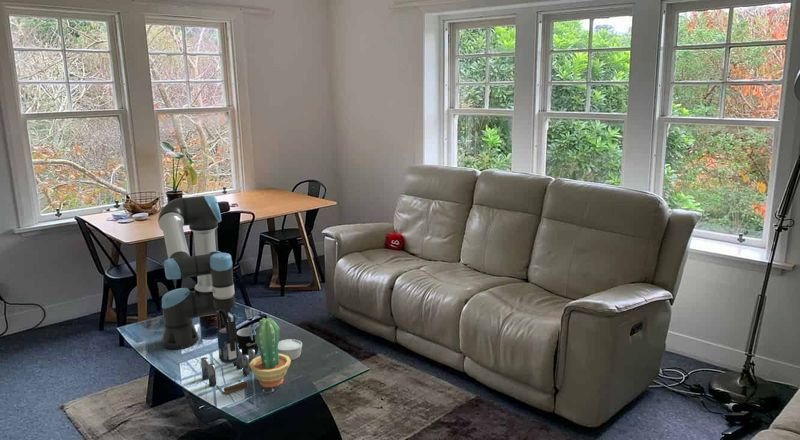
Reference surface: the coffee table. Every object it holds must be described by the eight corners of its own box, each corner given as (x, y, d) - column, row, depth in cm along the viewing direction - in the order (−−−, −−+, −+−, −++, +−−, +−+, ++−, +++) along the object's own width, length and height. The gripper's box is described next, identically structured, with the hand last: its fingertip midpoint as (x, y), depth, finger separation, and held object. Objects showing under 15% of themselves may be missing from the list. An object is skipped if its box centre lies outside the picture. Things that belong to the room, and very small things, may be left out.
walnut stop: (224, 393, 223) (223, 387, 223) (246, 386, 228) (245, 381, 227) (225, 395, 222) (225, 389, 222) (247, 388, 227) (247, 382, 226)
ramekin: (308, 354, 255) (307, 342, 253) (289, 364, 246) (288, 352, 244) (288, 348, 261) (288, 336, 260) (269, 358, 252) (268, 346, 251)
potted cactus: (265, 369, 242) (261, 309, 236) (299, 375, 236) (296, 314, 231) (242, 387, 228) (237, 324, 222) (277, 394, 222) (273, 330, 217)
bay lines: (216, 386, 229) (216, 385, 229) (239, 379, 234) (239, 378, 234) (223, 394, 223) (223, 393, 223) (247, 386, 228) (247, 386, 228)
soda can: (234, 354, 231) (231, 324, 228) (242, 360, 226) (239, 329, 223) (216, 359, 227) (213, 329, 224) (224, 365, 221) (221, 335, 219)
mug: (245, 361, 249) (243, 337, 247) (234, 354, 256) (232, 331, 253) (270, 352, 257) (269, 329, 255) (259, 345, 264) (258, 323, 261)
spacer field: (198, 374, 239) (196, 355, 237) (247, 360, 250) (246, 342, 248) (210, 387, 228) (208, 367, 226) (260, 372, 240) (259, 353, 238)
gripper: (204, 290, 226) (209, 348, 231) (223, 305, 211) (228, 367, 216) (224, 286, 231) (229, 343, 236) (244, 301, 215) (249, 361, 220)
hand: (228, 354), depth 226 cm, fingers closed on soda can, 7 cm apart
